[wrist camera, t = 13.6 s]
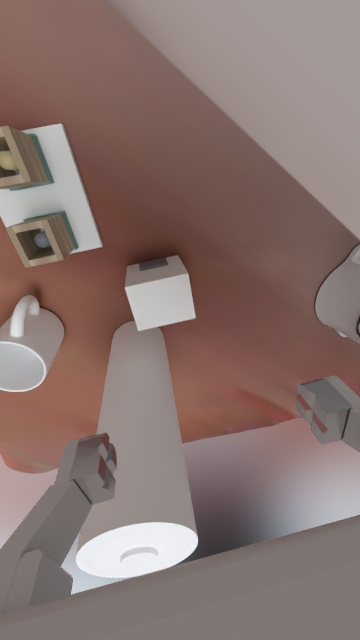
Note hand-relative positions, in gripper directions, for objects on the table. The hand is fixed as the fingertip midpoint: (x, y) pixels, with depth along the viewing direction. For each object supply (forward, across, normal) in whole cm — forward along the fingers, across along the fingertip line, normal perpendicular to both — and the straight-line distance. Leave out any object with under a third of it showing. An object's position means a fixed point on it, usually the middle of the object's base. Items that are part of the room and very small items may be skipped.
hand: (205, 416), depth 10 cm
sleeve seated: (+30, +13, -5) cm, 33 cm away
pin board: (+31, +13, -9) cm, 35 cm away
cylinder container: (+31, +7, +16) cm, 36 cm away
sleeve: (+30, +13, -13) cm, 35 cm away
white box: (+31, +1, +5) cm, 32 cm away
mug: (+31, +21, +7) cm, 38 cm away
